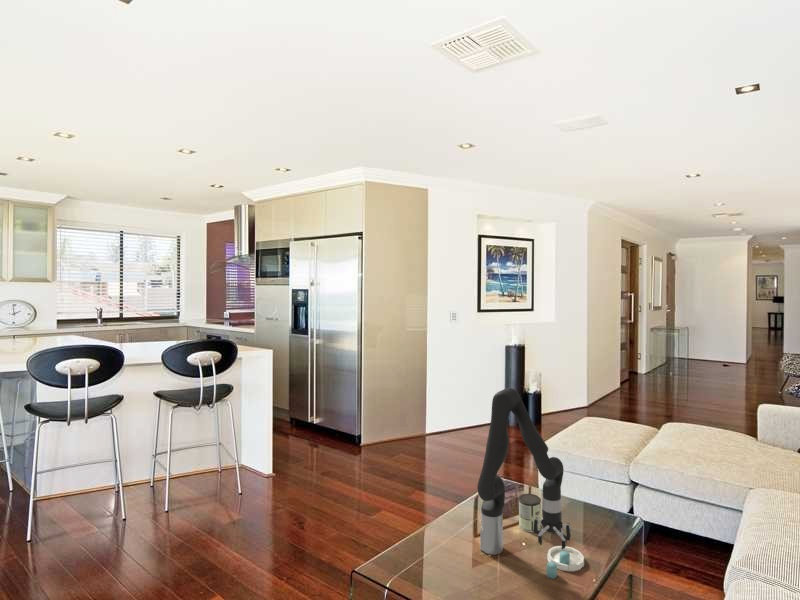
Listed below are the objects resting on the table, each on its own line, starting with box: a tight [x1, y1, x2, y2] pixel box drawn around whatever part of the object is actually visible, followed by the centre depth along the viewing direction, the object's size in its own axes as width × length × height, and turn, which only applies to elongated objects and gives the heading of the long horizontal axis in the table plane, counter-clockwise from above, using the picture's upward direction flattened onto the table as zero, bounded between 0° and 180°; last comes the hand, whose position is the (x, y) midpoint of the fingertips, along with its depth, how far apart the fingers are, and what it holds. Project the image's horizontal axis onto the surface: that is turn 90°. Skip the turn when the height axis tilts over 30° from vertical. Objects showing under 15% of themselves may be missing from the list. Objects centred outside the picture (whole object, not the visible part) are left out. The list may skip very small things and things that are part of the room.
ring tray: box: [546, 545, 585, 572], centre depth 222 cm, size 15×15×2 cm
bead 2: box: [560, 551, 570, 565], centre depth 218 cm, size 4×4×4 cm
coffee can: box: [518, 493, 542, 533], centre depth 249 cm, size 10×10×14 cm
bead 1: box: [546, 562, 558, 580], centre depth 212 cm, size 4×4×4 cm
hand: (551, 546), depth 211 cm, fingers open, 8 cm apart
